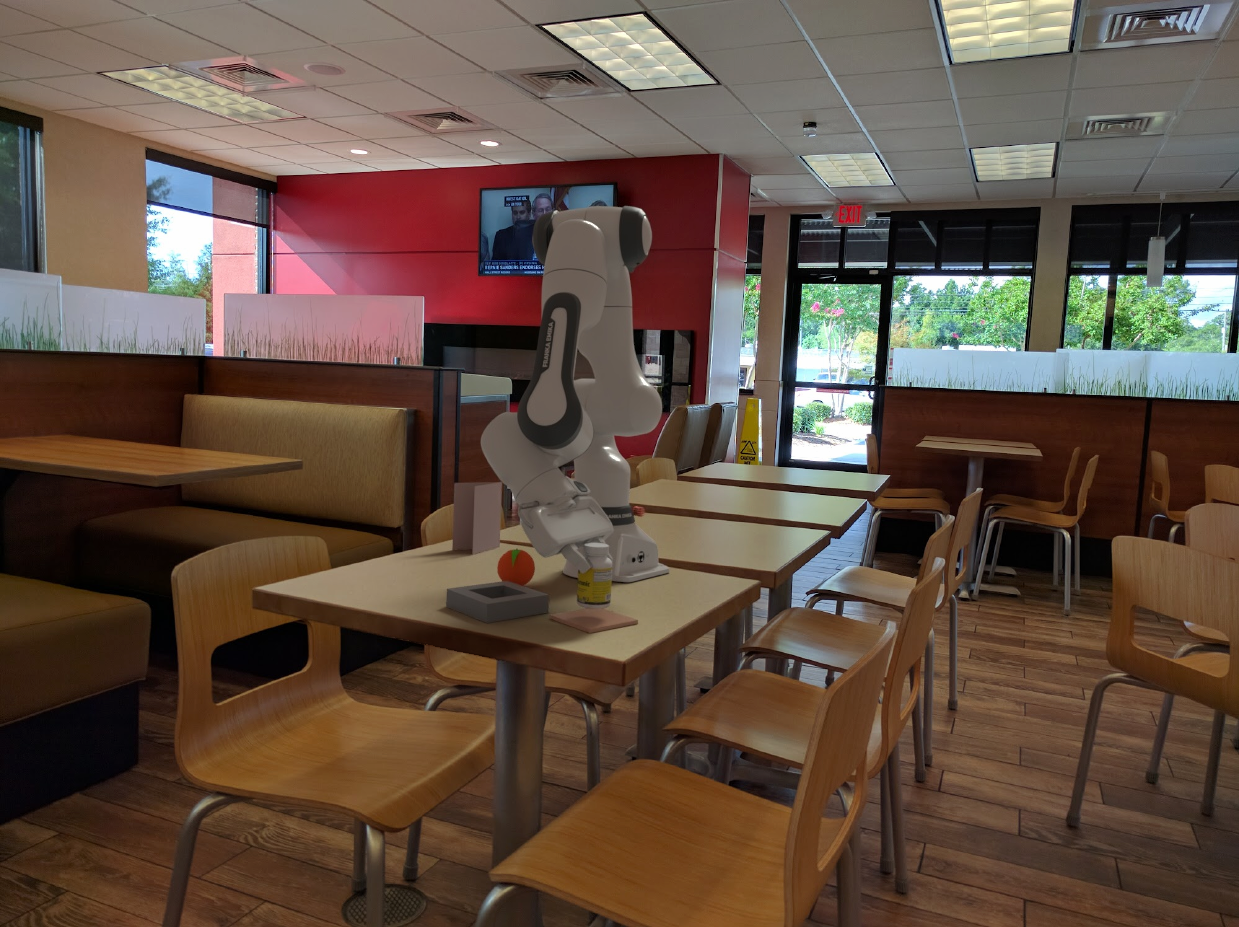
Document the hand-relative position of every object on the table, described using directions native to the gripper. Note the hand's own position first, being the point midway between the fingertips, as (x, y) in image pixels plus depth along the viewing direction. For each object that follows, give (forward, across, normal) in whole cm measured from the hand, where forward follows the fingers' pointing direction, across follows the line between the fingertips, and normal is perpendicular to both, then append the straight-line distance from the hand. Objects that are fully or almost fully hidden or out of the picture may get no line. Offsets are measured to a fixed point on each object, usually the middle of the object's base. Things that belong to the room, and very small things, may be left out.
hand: (598, 567), depth 138 cm
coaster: (+6, 0, +7) cm, 9 cm away
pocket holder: (-6, -3, +18) cm, 19 cm away
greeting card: (-28, +38, +41) cm, 63 cm away
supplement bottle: (+4, 0, +5) cm, 6 cm away
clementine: (-10, +13, +23) cm, 28 cm away
